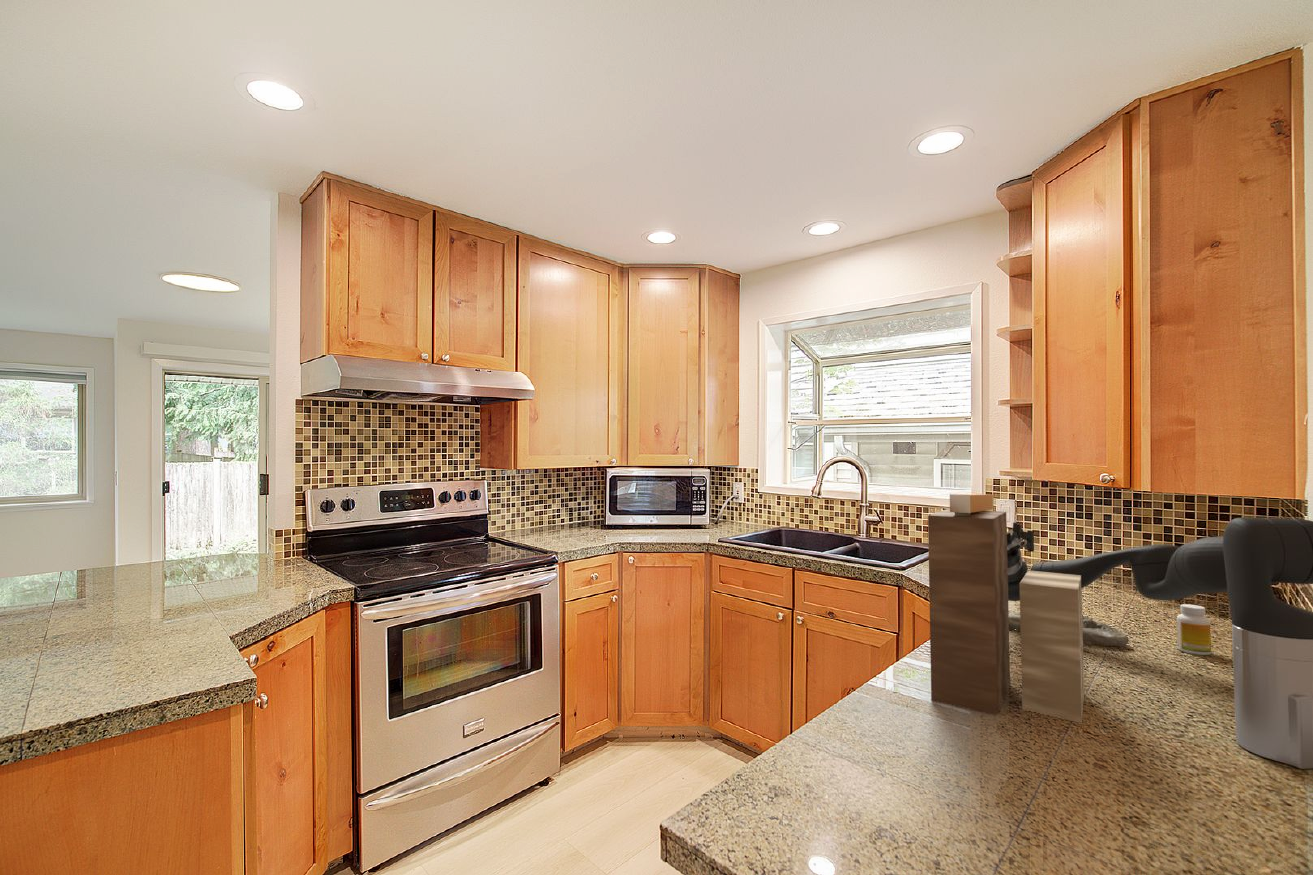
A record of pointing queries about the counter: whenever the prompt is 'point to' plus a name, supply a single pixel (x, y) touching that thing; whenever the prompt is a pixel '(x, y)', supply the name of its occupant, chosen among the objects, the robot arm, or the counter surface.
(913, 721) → the counter surface
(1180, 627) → the supplement bottle
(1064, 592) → the short stand
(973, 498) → the pale tan wood block
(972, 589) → the tall stand
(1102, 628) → the long grey stone
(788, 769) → the counter surface
